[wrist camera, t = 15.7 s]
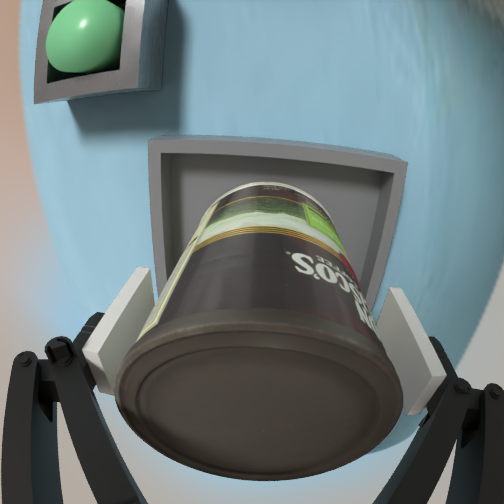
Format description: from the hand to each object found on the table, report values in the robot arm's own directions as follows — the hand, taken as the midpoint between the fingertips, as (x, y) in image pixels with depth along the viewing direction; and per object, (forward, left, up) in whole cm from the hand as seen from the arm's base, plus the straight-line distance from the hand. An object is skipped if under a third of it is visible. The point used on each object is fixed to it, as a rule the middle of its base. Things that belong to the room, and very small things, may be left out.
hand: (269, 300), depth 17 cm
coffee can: (0, 0, -6) cm, 6 cm away
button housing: (-15, -12, -7) cm, 20 cm away
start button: (-15, -12, -6) cm, 20 cm away
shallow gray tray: (0, 0, -7) cm, 7 cm away
